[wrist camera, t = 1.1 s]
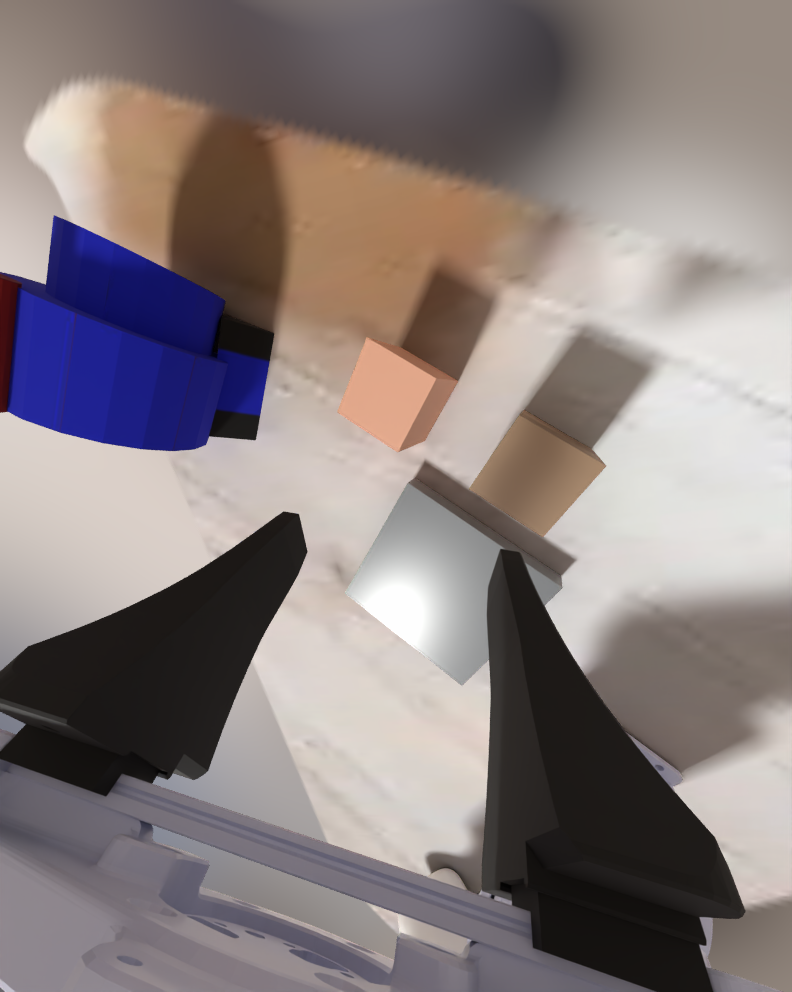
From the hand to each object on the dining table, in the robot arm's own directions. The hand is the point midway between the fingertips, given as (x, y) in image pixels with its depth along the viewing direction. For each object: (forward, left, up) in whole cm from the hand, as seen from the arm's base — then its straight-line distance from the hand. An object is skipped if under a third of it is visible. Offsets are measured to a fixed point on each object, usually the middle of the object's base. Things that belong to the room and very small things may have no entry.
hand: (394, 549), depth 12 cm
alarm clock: (+24, +3, -13) cm, 27 cm away
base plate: (-3, +8, -12) cm, 15 cm away
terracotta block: (+6, -3, -12) cm, 14 cm away
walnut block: (-3, -3, -12) cm, 13 cm away
